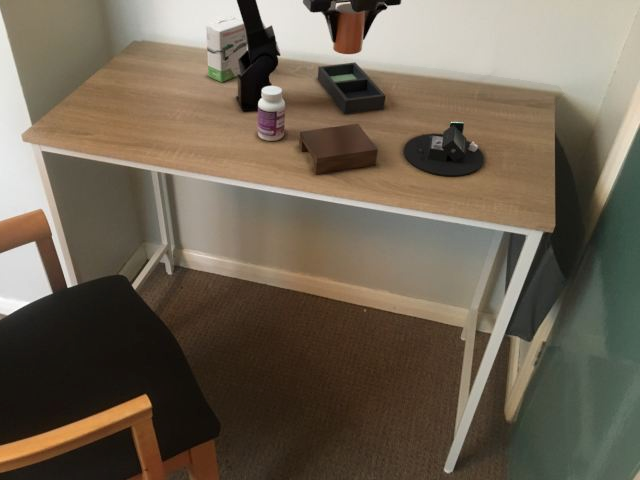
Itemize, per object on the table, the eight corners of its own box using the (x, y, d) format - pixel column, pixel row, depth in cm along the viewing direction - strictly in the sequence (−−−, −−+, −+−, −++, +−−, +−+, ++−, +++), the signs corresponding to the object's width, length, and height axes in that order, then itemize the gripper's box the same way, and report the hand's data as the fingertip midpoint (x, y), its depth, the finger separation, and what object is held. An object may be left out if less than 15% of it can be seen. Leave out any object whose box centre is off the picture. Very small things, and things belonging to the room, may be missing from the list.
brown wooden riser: (315, 174, 113) (316, 158, 110) (299, 147, 120) (299, 131, 117) (375, 165, 115) (378, 149, 112) (355, 139, 122) (357, 123, 119)
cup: (338, 55, 124) (342, 14, 118) (329, 44, 128) (332, 4, 122) (366, 52, 125) (371, 12, 119) (356, 41, 129) (360, 1, 123)
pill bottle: (281, 143, 121) (283, 97, 114) (255, 140, 122) (255, 95, 115) (286, 129, 125) (287, 85, 118) (260, 127, 125) (261, 82, 119)
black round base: (482, 181, 111) (490, 155, 107) (399, 169, 114) (404, 143, 110) (483, 141, 121) (490, 115, 117) (407, 131, 124) (412, 106, 120)
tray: (344, 114, 129) (345, 100, 127) (317, 79, 141) (318, 66, 139) (383, 109, 131) (385, 95, 129) (353, 75, 143) (355, 62, 141)
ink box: (221, 83, 140) (219, 31, 132) (207, 76, 143) (204, 25, 135) (248, 71, 145) (248, 20, 136) (234, 65, 147) (233, 15, 139)
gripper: (322, -26, 107) (316, 61, 118) (420, -34, 110) (406, 51, 121) (304, -44, 115) (300, 39, 126) (396, -51, 118) (384, 30, 129)
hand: (347, 40), depth 125 cm, fingers closed on cup, 6 cm apart
